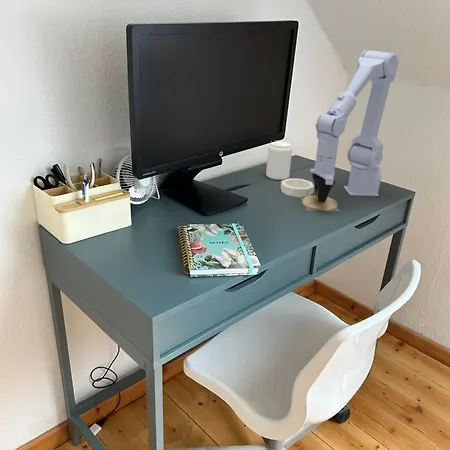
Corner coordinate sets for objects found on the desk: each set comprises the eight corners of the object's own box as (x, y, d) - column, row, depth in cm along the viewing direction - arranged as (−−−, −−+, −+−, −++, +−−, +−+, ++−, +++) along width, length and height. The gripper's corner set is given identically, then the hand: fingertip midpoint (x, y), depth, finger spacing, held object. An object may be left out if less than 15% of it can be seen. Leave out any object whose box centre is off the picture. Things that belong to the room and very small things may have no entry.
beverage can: (290, 181, 170) (293, 147, 165) (266, 180, 170) (269, 146, 165) (287, 173, 178) (291, 141, 173) (265, 172, 178) (268, 139, 173)
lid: (332, 198, 156) (334, 185, 154) (341, 211, 146) (343, 197, 144) (299, 197, 155) (301, 184, 153) (306, 210, 146) (307, 196, 144)
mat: (331, 200, 156) (331, 198, 156) (340, 212, 147) (340, 211, 146) (300, 199, 155) (300, 198, 155) (306, 211, 146) (306, 210, 146)
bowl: (308, 187, 165) (309, 179, 164) (315, 198, 156) (316, 189, 155) (278, 186, 165) (279, 178, 163) (283, 197, 156) (284, 188, 154)
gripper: (307, 148, 151) (302, 190, 156) (318, 162, 137) (312, 208, 143) (330, 149, 151) (324, 191, 157) (343, 163, 138) (336, 208, 144)
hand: (320, 199), depth 150 cm, fingers closed on lid, 3 cm apart
